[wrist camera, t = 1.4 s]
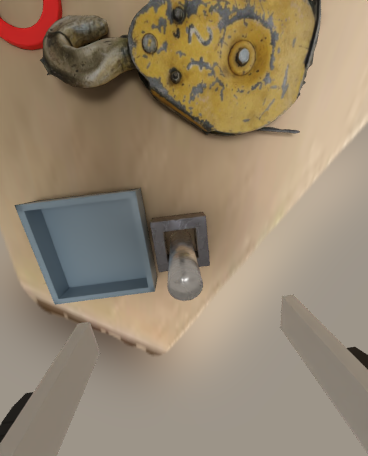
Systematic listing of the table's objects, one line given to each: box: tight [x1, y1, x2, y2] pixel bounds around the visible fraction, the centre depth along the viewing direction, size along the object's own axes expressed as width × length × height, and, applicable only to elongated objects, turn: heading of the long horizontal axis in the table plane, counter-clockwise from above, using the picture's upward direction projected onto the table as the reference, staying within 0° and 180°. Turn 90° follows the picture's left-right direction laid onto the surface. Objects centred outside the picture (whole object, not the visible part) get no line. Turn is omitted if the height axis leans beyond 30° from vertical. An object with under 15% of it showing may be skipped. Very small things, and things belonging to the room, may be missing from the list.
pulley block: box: [40, 0, 321, 136], centre depth 19 cm, size 14×6×30 cm
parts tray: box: [15, 188, 157, 304], centre depth 25 cm, size 15×15×4 cm
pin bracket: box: [150, 212, 210, 272], centre depth 26 cm, size 8×8×2 cm
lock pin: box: [168, 229, 203, 301], centre depth 22 cm, size 3×3×12 cm
